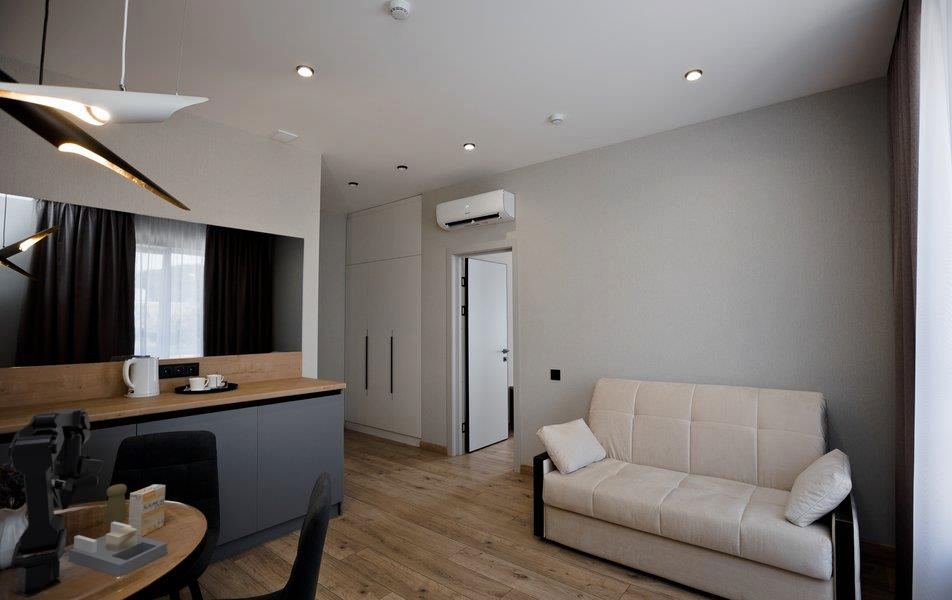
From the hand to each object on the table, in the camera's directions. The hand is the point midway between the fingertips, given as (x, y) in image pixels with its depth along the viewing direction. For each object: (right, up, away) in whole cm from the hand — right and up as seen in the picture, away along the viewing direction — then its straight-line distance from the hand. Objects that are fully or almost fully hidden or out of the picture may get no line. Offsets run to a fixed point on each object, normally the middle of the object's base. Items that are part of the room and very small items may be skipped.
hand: (64, 509), depth 125 cm
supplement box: (+14, -13, +12) cm, 23 cm away
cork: (-2, -13, +20) cm, 24 cm away
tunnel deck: (+18, -12, -3) cm, 22 cm away
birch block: (+18, -9, -3) cm, 21 cm away
